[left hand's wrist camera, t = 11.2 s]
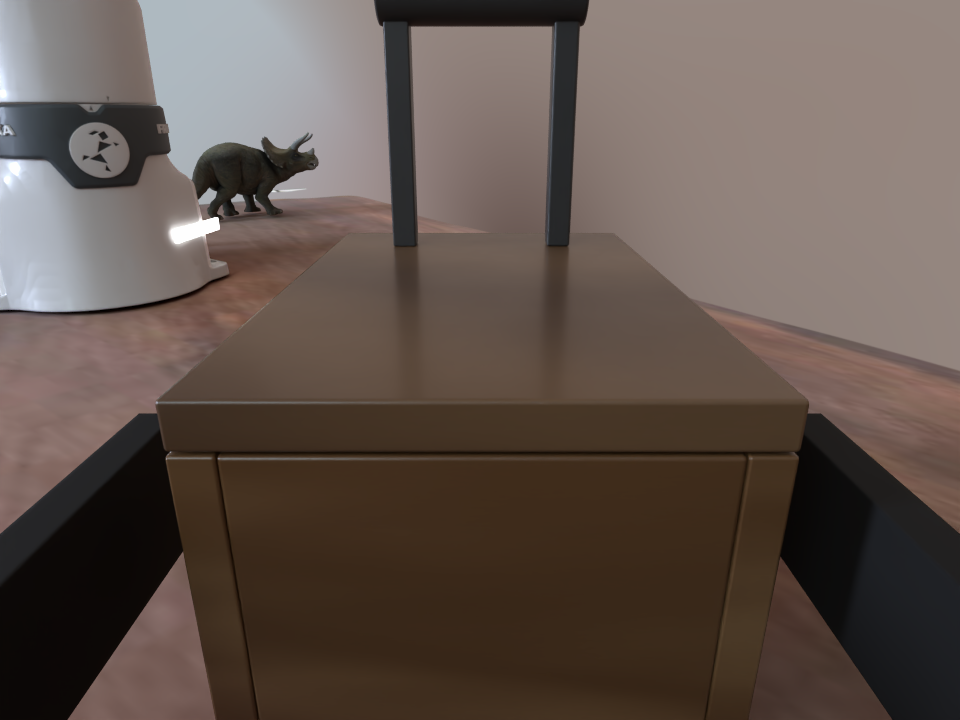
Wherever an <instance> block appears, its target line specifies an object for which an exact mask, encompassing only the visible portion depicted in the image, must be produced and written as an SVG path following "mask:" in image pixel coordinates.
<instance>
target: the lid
mask: <svg viewBox="0 0 960 720" xmlns="http://www.w3.org/2000/svg"><path fill="white" fill-rule="evenodd" d="M374 3H375V10H376V16H377V20H378V22H379V25H380V26H383V31H384V53H385V75H386V96H387V117H388V138H389V160H390V181H391V203H392V224H393V233H349V234H347V235H346V236H345V237H344V238H343V239H342V240H341V241H339V242H338V243H337V244H336V245H335V246H334V247H332V248H331V249H330V250H329V251H328V252H327V253H326V254H324V255H323V256H322V257H321V258H320V259H319V260H317V261H316V262H315V263H314V264H313V265H312V266H310V267H309V268H308V269H307V270H306V271H305V272H304V273H302V274H301V275H300V276H299V277H298V278H297V279H295V280H294V281H293V282H292V283H291V284H290V285H289V286H287V287H286V288H285V289H284V290H283V291H282V292H280V293H279V294H278V295H277V296H276V297H275V298H273V299H272V300H271V301H270V302H269V303H268V304H267V305H265V306H264V307H263V308H262V309H261V310H260V311H258V312H257V313H256V314H255V315H254V316H253V317H252V318H250V319H249V320H248V321H247V322H246V323H245V324H243V325H242V326H241V327H240V328H239V329H238V330H237V331H235V332H234V333H233V334H232V335H231V336H230V337H228V338H227V339H226V340H225V341H224V342H223V343H221V344H220V345H219V346H218V347H217V348H216V349H215V350H213V351H212V352H211V353H210V354H209V355H208V356H206V357H205V358H204V359H203V360H202V361H201V362H200V363H198V364H197V365H196V366H195V367H194V368H193V369H191V370H190V371H189V372H188V373H187V374H186V375H185V376H183V377H182V378H181V379H180V380H179V381H178V382H176V383H175V384H174V385H173V386H172V387H171V388H169V389H168V390H167V391H166V392H165V393H164V394H163V395H161V396H160V397H159V398H158V399H157V400H156V410H157V415H158V420H159V426H160V431H161V436H162V441H163V446H164V449H165V451H168V452H798V451H799V450H800V449H801V444H802V439H803V434H804V429H805V424H806V419H807V413H808V408H809V401H808V400H807V399H806V398H805V397H804V396H803V395H802V394H800V393H799V392H798V391H797V390H796V389H795V388H793V387H792V386H791V385H790V384H789V383H788V382H787V381H785V380H784V379H783V378H782V377H781V376H780V375H778V374H777V373H776V372H775V371H774V370H773V369H771V368H770V367H769V366H768V365H767V364H766V363H764V362H763V361H762V360H761V359H760V358H759V357H757V356H756V355H755V354H754V353H753V352H752V351H750V350H749V349H748V348H747V347H746V346H745V345H743V344H742V343H741V342H740V341H739V340H738V339H736V338H735V337H734V336H733V335H732V334H731V333H729V332H728V331H727V330H726V329H725V328H724V327H722V326H721V325H720V324H719V323H718V322H717V321H715V320H714V319H713V318H712V317H711V316H710V315H708V314H707V313H706V312H705V311H704V310H703V309H701V308H700V307H699V306H698V305H697V304H696V303H694V302H693V301H692V300H691V299H690V298H689V297H687V296H686V295H685V294H684V293H683V292H682V291H680V290H679V289H678V288H677V287H676V286H675V285H673V284H672V283H671V282H670V281H669V280H668V279H667V278H665V277H664V276H663V275H662V274H661V273H660V272H658V271H657V270H656V269H655V268H654V267H653V266H651V265H650V264H649V263H648V262H647V261H646V260H644V259H643V258H642V257H641V256H640V255H639V254H637V253H636V252H635V251H634V250H633V249H632V248H630V247H629V246H628V245H627V244H626V243H625V242H623V241H622V240H621V239H620V238H619V237H618V236H616V235H615V234H614V233H570V219H571V198H572V177H573V157H574V136H575V115H576V94H577V74H578V53H579V32H580V26H583V25H584V23H585V20H586V17H587V11H588V5H589V0H374ZM411 26H552V52H551V80H550V109H549V137H548V166H547V195H546V223H545V233H418V226H417V197H416V166H415V136H414V107H413V77H412V48H411Z"/></svg>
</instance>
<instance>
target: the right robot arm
mask: <svg viewBox="0 0 960 720" xmlns="http://www.w3.org/2000/svg"><path fill="white" fill-rule="evenodd" d="M153 105H157V103H156V97H155V91H154V85H153V79H152V72H151V67H150V60H149V54H148V48H147V42H146V36H145V30H144V23H143V17H142V11H141V8H140V5H139V3H138V1H137V0H0V310H26V311H38V312H74V311H90V310H102V309H111V308H119V307H127V306H133V305H139V304H145V303H151V302H156V301H160V300H165V299H169V298H173V297H176V296H180V295H183V294H186V293H189V292H192V291H194V290H196V289H198V288H200V287H202V286H203V285H205V284H206V283H207V282H209V281H211V280H214V279H217V278H220V277H223V276H226V275H228V274H229V269H228V265H227V263H226V262H223V261H219V260H214V259H210V256H209V251H208V246H207V242H206V237H205V234H207V233H210V232H213V231H215V230H218V229H219V222H218V218H212V219H209V220H205V221H202V217H201V213H200V208H199V203H198V198H197V194H196V189H195V185H194V183H193V181H192V180H191V179H189V178H188V177H187V176H186V175H184V174H182V173H181V172H179V171H178V170H177V169H176V168H175V167H174V166H173V164H172V163H171V162H170V160H169V158H168V156H167V154H168V153H169V152H170V151H171V149H170V143H169V137H168V133H169V129H168V124H166V121H165V116H164V111H163V108H162V107H160V106H153Z"/></svg>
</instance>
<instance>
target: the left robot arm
mask: <svg viewBox="0 0 960 720" xmlns="http://www.w3.org/2000/svg"><path fill="white" fill-rule="evenodd" d="M169 453H170V452H168V451H165V449H164V446H163V441H162V436H161V431H160V426H159V420H158V415H157V414H138V415H137V416H136V417H135V418H133V419H132V420H131V421H130V422H129V423H128V424H127V425H125V426H124V427H123V428H122V429H121V430H120V431H118V432H117V433H116V434H115V435H114V436H113V437H112V438H110V439H109V440H108V441H107V442H106V443H105V444H103V445H102V446H101V447H100V448H99V449H98V450H97V451H95V452H94V453H93V454H92V455H91V456H90V457H88V458H87V459H86V460H85V461H84V462H83V463H82V464H80V465H79V466H78V467H77V468H76V469H75V470H73V471H72V472H71V473H70V474H69V475H68V476H67V477H65V478H64V479H63V480H62V481H61V482H60V483H58V484H57V485H56V486H55V487H54V488H53V489H52V490H50V491H49V492H48V493H47V494H46V495H45V496H43V497H42V498H41V499H40V500H39V501H38V502H37V503H35V504H34V505H33V506H32V507H31V508H30V509H28V510H27V511H26V512H25V513H24V514H23V515H22V516H20V517H19V518H18V519H17V520H16V521H15V522H13V523H12V524H11V525H10V526H9V527H8V528H7V529H5V530H4V531H3V532H2V533H1V534H0V720H68V718H69V717H70V715H71V714H72V712H73V711H74V709H75V708H76V706H77V705H78V704H79V702H80V701H81V699H82V698H83V696H84V695H85V693H86V692H87V690H88V689H89V687H90V686H91V685H92V683H93V682H94V680H95V679H96V677H97V676H98V674H99V673H100V671H101V670H102V669H103V667H104V666H105V664H106V663H107V661H108V660H109V658H110V657H111V655H112V654H113V652H114V651H115V650H116V648H117V647H118V645H119V644H120V642H121V641H122V639H123V638H124V636H125V635H126V634H127V632H128V631H129V629H130V628H131V626H132V625H133V623H134V622H135V620H136V619H137V617H138V616H139V615H140V613H141V612H142V610H143V609H144V607H145V606H146V604H147V603H148V601H149V600H150V599H151V597H152V596H153V594H154V593H155V591H156V590H157V588H158V587H159V585H160V584H161V583H162V581H163V580H164V578H165V577H166V575H167V574H168V572H169V571H170V569H171V568H172V566H173V565H174V564H175V562H176V561H177V559H178V558H179V556H180V555H181V553H182V552H183V548H182V543H181V537H180V532H179V527H178V522H177V517H176V511H175V506H174V501H173V496H172V491H171V486H170V480H169V475H168V470H167V465H166V456H167V455H168V454H169ZM794 453H795V454H796V455H797V456H798V458H799V463H798V468H797V473H796V478H795V483H794V488H793V493H792V498H791V503H790V508H789V514H788V519H787V524H786V529H785V534H784V539H783V544H782V549H781V554H780V556H781V558H782V559H783V561H784V562H785V564H786V565H787V566H788V568H789V569H790V571H791V572H792V574H793V575H794V577H795V578H796V580H797V581H798V582H799V584H800V585H801V587H802V588H803V590H804V591H805V593H806V594H807V596H808V597H809V599H810V600H811V601H812V603H813V604H814V606H815V607H816V609H817V610H818V612H819V613H820V615H821V616H822V617H823V619H824V620H825V622H826V623H827V625H828V626H829V628H830V629H831V631H832V632H833V634H834V635H835V636H836V638H837V639H838V641H839V642H840V644H841V645H842V647H843V648H844V650H845V651H846V652H847V654H848V655H849V657H850V658H851V660H852V661H853V663H854V664H855V666H856V667H857V669H858V670H859V671H860V673H861V674H862V676H863V677H864V679H865V680H866V682H867V683H868V685H869V686H870V687H871V689H872V690H873V692H874V693H875V695H876V696H877V698H878V699H879V701H880V702H881V703H882V705H883V706H884V708H885V709H886V711H887V712H888V714H889V715H890V717H891V718H892V720H960V534H959V533H958V532H957V531H956V530H955V529H953V528H952V527H951V526H950V525H949V524H948V523H947V522H945V521H944V520H943V519H942V518H941V517H940V516H938V515H937V514H936V513H935V512H934V511H933V510H932V509H930V508H929V507H928V506H927V505H926V504H925V503H923V502H922V501H921V500H920V499H919V498H918V497H917V496H915V495H914V494H913V493H912V492H911V491H910V490H908V489H907V488H906V487H905V486H904V485H903V484H902V483H900V482H899V481H898V480H897V479H896V478H895V477H893V476H892V475H891V474H890V473H889V472H888V471H887V470H885V469H884V468H883V467H882V466H881V465H880V464H878V463H877V462H876V461H875V460H874V459H873V458H872V457H870V456H869V455H868V454H867V453H866V452H865V451H863V450H862V449H861V448H860V447H859V446H858V445H857V444H855V443H854V442H853V441H852V440H851V439H850V438H848V437H847V436H846V435H845V434H844V433H843V432H842V431H840V430H839V429H838V428H837V427H836V426H835V425H833V424H832V423H831V422H830V421H829V420H828V419H827V418H825V417H824V416H823V415H822V414H807V419H806V424H805V429H804V434H803V439H802V444H801V449H800V450H799V451H798V452H794Z"/></svg>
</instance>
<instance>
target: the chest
mask: <svg viewBox="0 0 960 720" xmlns="http://www.w3.org/2000/svg"><path fill="white" fill-rule="evenodd" d="M798 463H799V458H798V456H797V455H796V454H795V453H794V452H170V453H169V454H168V455H167V456H166V465H167V470H168V475H169V480H170V486H171V491H172V496H173V501H174V506H175V511H176V517H177V522H178V527H179V532H180V537H181V543H182V548H183V553H184V558H185V563H186V568H187V574H188V579H189V584H190V589H191V594H192V599H193V605H194V610H195V615H196V620H197V625H198V631H199V636H200V641H201V646H202V651H203V656H204V662H205V667H206V672H207V677H208V682H209V688H210V693H211V698H212V703H213V708H214V713H215V719H216V720H748V718H749V713H750V708H751V702H752V697H753V692H754V687H755V682H756V677H757V672H758V667H759V662H760V657H761V651H762V646H763V641H764V636H765V631H766V626H767V621H768V616H769V611H770V605H771V600H772V595H773V590H774V585H775V580H776V575H777V570H778V565H779V560H780V554H781V549H782V544H783V539H784V534H785V529H786V524H787V519H788V514H789V508H790V503H791V498H792V493H793V488H794V483H795V478H796V473H797V468H798Z"/></svg>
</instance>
